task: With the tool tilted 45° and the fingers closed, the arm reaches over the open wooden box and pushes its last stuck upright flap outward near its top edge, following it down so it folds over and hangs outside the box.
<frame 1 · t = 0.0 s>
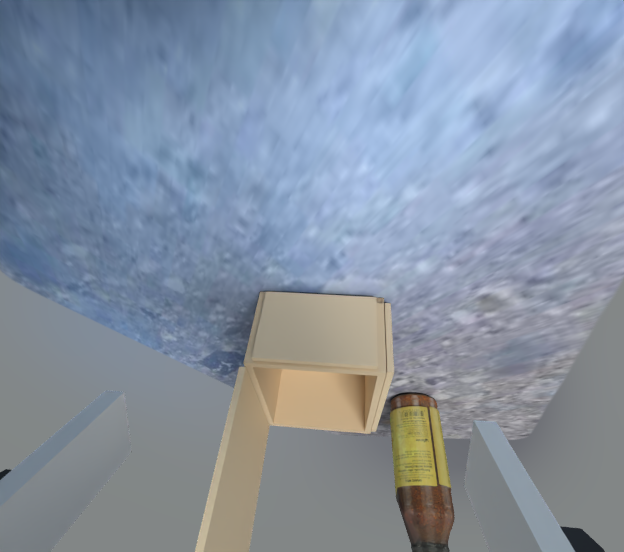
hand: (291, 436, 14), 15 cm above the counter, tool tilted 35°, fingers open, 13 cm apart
sauce bottle: (414, 398, 49), on the counter
wooden box: (322, 337, 38), on the counter
flap: (242, 472, 30), point 13 cm above the counter, hinge at 0.0°
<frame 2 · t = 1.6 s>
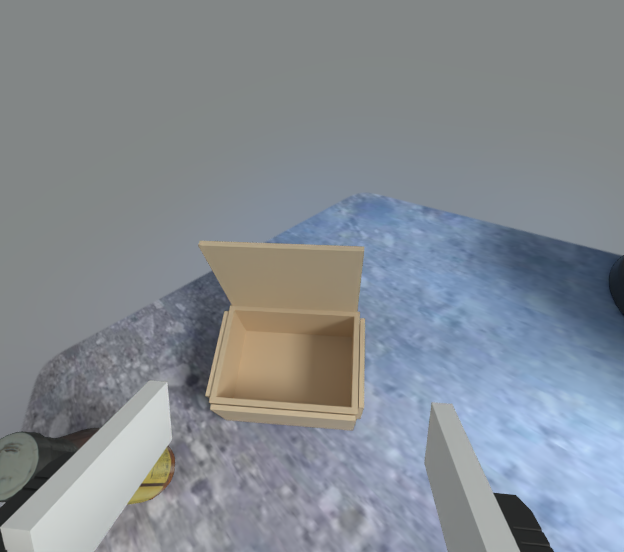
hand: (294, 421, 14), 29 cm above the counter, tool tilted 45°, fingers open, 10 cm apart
sauce bottle: (149, 471, 41), on the counter
wooden box: (294, 373, 45), on the counter
flap: (287, 280, 36), point 13 cm above the counter, hinge at 0.0°
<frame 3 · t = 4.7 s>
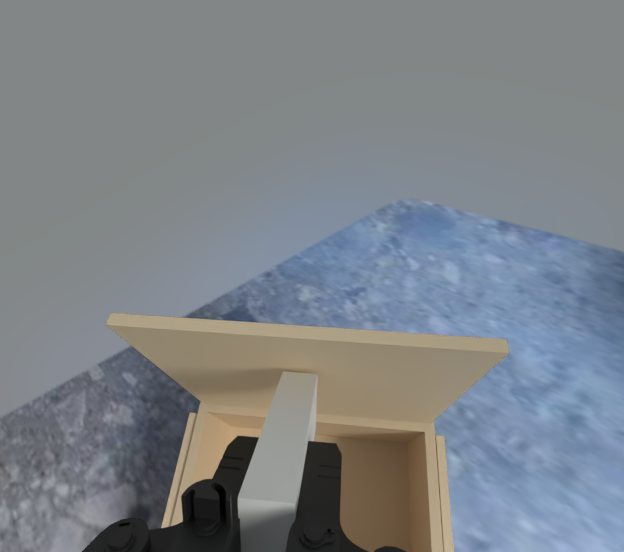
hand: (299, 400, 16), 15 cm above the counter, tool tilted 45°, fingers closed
wooden box: (311, 508, 27), on the counter
flap: (308, 380, 18), point 13 cm above the counter, hinge at 2.3°, touching gripper
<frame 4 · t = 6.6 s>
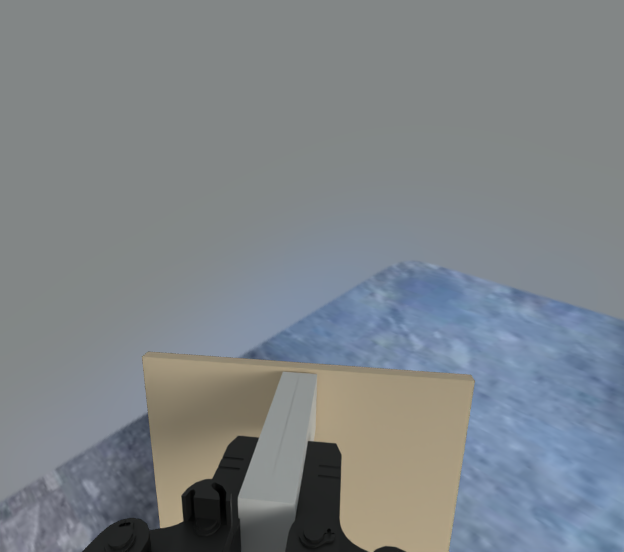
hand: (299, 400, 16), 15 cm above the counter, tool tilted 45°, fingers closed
flap: (300, 477, 17), point 11 cm above the counter, hinge at 44.8°, touching gripper
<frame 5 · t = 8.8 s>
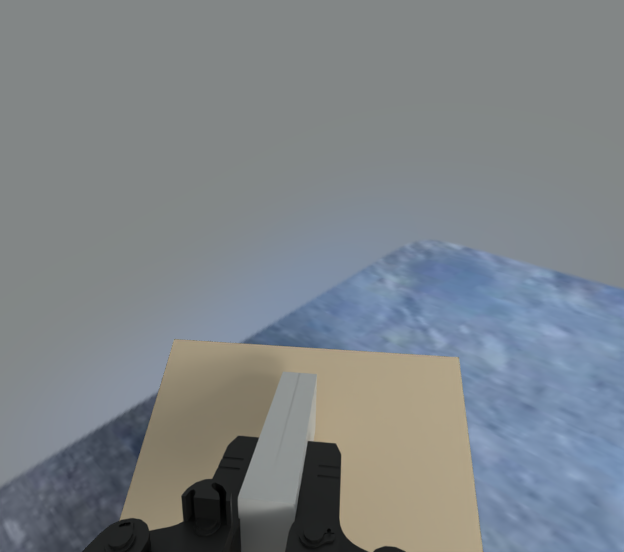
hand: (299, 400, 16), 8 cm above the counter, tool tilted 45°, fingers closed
flap: (298, 484, 15), point 7 cm above the counter, hinge at 90.5°, touching gripper
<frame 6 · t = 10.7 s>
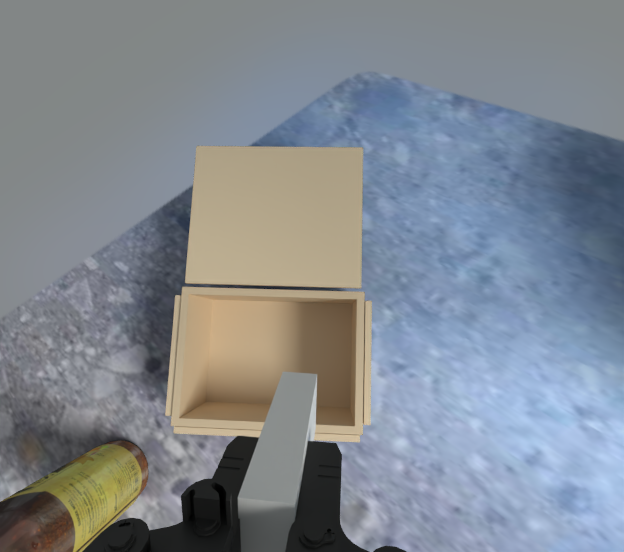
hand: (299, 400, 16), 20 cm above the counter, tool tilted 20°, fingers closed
sauce bottle: (121, 472, 35), on the counter
wooden box: (280, 351, 36), on the counter
flap: (276, 215, 31), point 7 cm above the counter, hinge at 90.6°
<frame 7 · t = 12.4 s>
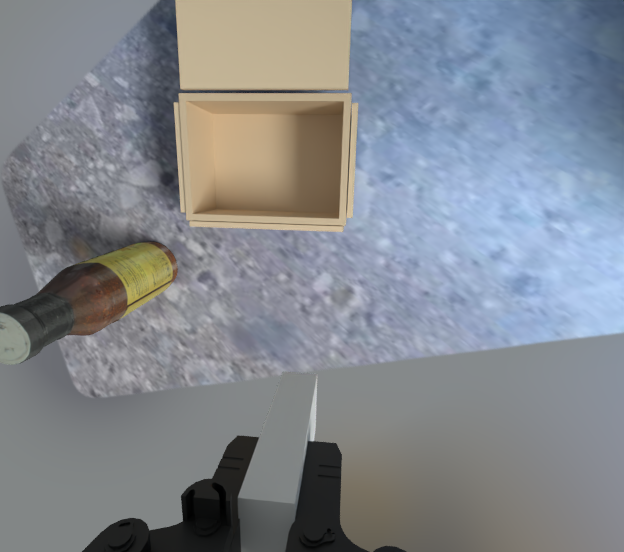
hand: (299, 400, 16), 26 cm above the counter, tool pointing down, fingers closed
sauce bottle: (155, 266, 44), on the counter
wooden box: (278, 164, 39), on the counter
flap: (262, 8, 30), point 7 cm above the counter, hinge at 90.6°
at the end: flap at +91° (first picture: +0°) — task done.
